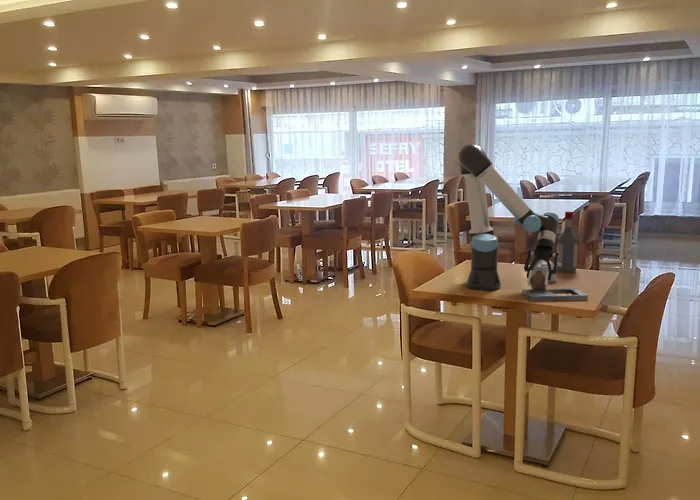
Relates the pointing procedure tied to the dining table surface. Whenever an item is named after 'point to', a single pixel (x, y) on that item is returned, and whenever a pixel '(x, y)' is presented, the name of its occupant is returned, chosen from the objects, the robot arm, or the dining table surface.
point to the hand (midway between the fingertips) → (537, 284)
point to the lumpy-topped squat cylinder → (544, 269)
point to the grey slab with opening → (554, 294)
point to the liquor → (567, 247)
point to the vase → (538, 281)
